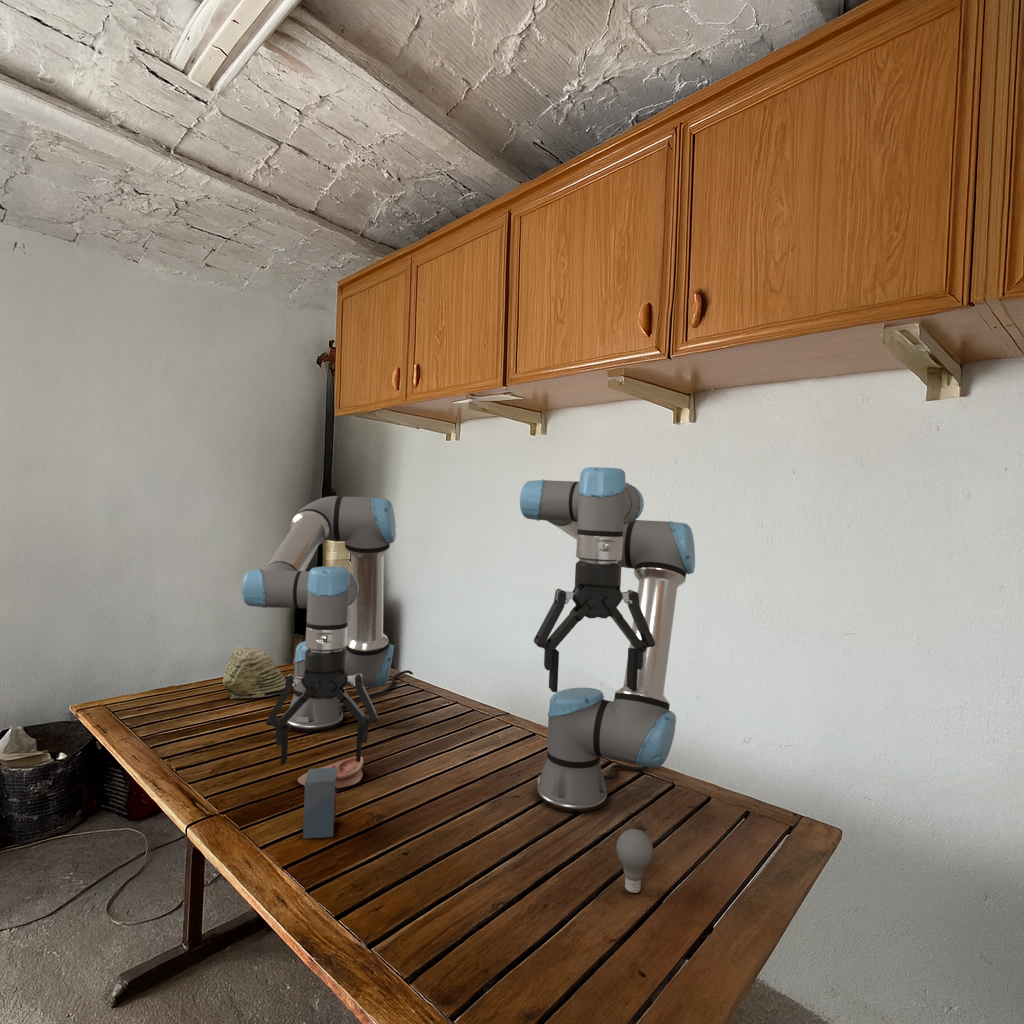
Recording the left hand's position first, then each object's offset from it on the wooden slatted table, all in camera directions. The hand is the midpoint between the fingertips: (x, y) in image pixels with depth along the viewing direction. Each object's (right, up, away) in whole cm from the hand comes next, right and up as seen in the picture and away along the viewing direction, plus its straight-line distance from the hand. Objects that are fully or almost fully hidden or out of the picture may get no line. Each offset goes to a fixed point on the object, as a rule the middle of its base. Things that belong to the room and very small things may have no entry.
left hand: (321, 760), depth 120 cm
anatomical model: (-4, -13, +22) cm, 25 cm away
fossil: (-44, -10, +78) cm, 90 cm away
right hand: (+50, +18, -15) cm, 55 cm away
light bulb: (+56, -16, -15) cm, 60 cm away
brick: (-1, -13, 0) cm, 13 cm away
